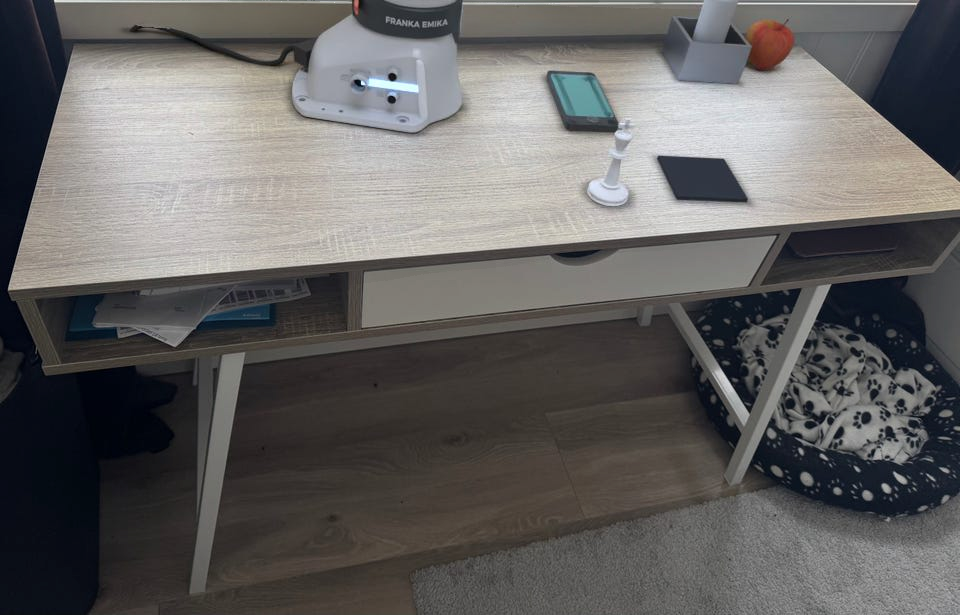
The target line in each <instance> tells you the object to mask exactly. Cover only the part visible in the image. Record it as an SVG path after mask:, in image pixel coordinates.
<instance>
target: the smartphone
mask: <svg viewBox="0 0 960 615" xmlns="http://www.w3.org/2000/svg"><path fill="white" fill-rule="evenodd" d="M545 79H546V82H547V84H548V86H549V89H550V91H551V95H552V96H553V99H554V103H555V104H556V107H557V110H558V111H559V115H560V117H561V120H562V123H563V125H564V128H565V129H566V130H567V131H574V132H575V131H576V132H602V133H615V132H616V131H618V129H619V127H618V124H619V123H620V122H619V121H618V119H617V117H616V115H615V113H614V111H613V109H612V107H611V105H610V103H609V101H608V99H607V97H606V94H605V93H604V91H603V88H602V86H601V84H600V82H599V80H598V78H597V76H596V74H595V73H593V72H591V71H590V72H589V71H573V70H572V71H571V70H547V72H546V77H545Z"/></svg>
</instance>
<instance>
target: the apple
mask: <svg viewBox="0 0 960 615" xmlns="http://www.w3.org/2000/svg"><path fill="white" fill-rule="evenodd" d="M789 21H790V18H787V19H786V20H785V22H784V23H781V22H779V21H775V20H771V19H761V20H758V21H755V22H754V23H752V25H751V26H750V27H749V28H748V30H747V32H746V35H745V36H744V38H745V39H746V40H747V41H748V43H749V44H750V45H751V46H752V48H751V51H750V53H749V56H748V59H747V61H749V62H750V64H751V65H752V66H754V67H755V68H756V69H757V70H759V71H766V70H769V69H772V68H775V67H777V66H778V65H780V64H781V63H782V62H784V61H785V59H786V58H787V57H788V56H789V54H790V53H791V52H792V49H793V48H794V44H795V34H794V32H793V31H792V30H791V29H790V28H789V27H788V26H786V24H787V23H788V22H789Z"/></svg>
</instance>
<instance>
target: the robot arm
mask: <svg viewBox="0 0 960 615" xmlns="http://www.w3.org/2000/svg"><path fill="white" fill-rule="evenodd" d="M463 1H464V0H351V12H352V13H351V14H349V15H348V16H347V17H345V18H343V19H342V20H340V21H339V22H337V23H336V24H334V25H332V26H331V27H329V28H328V29H327V30H324V31H323V32H321V34H320V35H319V36H316V37H313V38H310V39H307V40H304V41H301V42H298V43H294V44H291V45H288V46H287V47H285V48H284V49H283V50H282V51H281V53H280V56H279V57H278V58H277V59H274V60H266V61H265V60H259V59H254V58H251V57H248V56H246V55H243V54H242V53H239V52H236V51H234V50H231V49H230V48H229V49H228V48H226V47H223V46H220V45H216V44H214V43H212V42H210V41H207V40H206V39H203V38H202V37H199V36H197V35H195V34H192V33H190V32H186V31H183V30H179V29H177V28H171V27H169V28H170V29H167V28H154V27H142V26H137V25H136V24H134V25H132V27H130V29H129V31H128V32H129V33H136V32H138V31H139V30H141V29H155V30H158V31H162V32H164V33H165V32H166V33H168V34H171V35H175V36H179V37H183V38H186V39H189V40H192V41H194V42H196V43H198V44H200V45H202V46H204V47H206V48H208V49H210V50H213V51H216V52H219V53H222V54H225V55H228V56H231V57H233V58H236V59H237V60H240V61H242V62H245V63H249V64H254V65H259V66H265V67H276V66H279V65H282V64H283V63H284V62H285V60H286V57H287V56H288V54H289V53H291V52H293V62H295V63H297V64H298V65H300V66H301V67H300V68H299V69H298V71H296V74H295V75H294V78H293V81H292V88H291V100H292V104H293V107H294V108H295V110H296V111H297V112H298V113H299V114H300V115H301V116H303V117H306V118H313V119H319V120H325V121H332V122H337V123H346V124H351V125H357V126H363V127H364V126H365V127H370V128H376V129H377V128H379V129H385V130H389V131H390V130H391V131H397V132H404V133H410V134H411V133H418V132H420V131H422V130H424V129H425V128H426V127H427V126H428V125H430V124H432V123H436V122H438V121H441V120H444V119H447V118H450V117H451V116H453V115H455V114H456V113H457V112H458V111H459V110H460V109H461V107H462V105H463V100H464V98H463V95H462V88H461V84H460V77H459V65H458V64H459V63H458V62H459V61H458V43H459V41H460V35H461V33H462V25H463V14H464V2H463Z"/></svg>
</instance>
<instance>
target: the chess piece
mask: <svg viewBox="0 0 960 615" xmlns="http://www.w3.org/2000/svg"><path fill="white" fill-rule="evenodd" d="M618 123H619V124H618V129H617V131H616V132H614V147H612V148H610V150H609V151H608V154H609V155H610V156H611V157H612V159H611V161H610V164H609V167H608V169H607V172H606V174H605V176H604V177H598V178H595V179H593V180H591V181H590V182H589V184H588V186H587V189H586V193H587V196H588V197H589V198H590V199H591V200H592V201H593V202H595V203H597V204H600V205H602V206H606V207H620V206H622V205H625V204H626V203H627V202H628V199H629V194H630V192H629V190H628V188H627V186H626V185H624V183H622V182H620V181H619V177H620V170H621V165H622V160H625V159H627V158H628V156H629V154H628V151H627V150H626V148H627V147H628V145H629V144H630V143H631V141H632V140H633V134H632V133H631V132H630V131H628V130H634V128H635V123H631V118H630V117H625V119H624V122H618Z"/></svg>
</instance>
